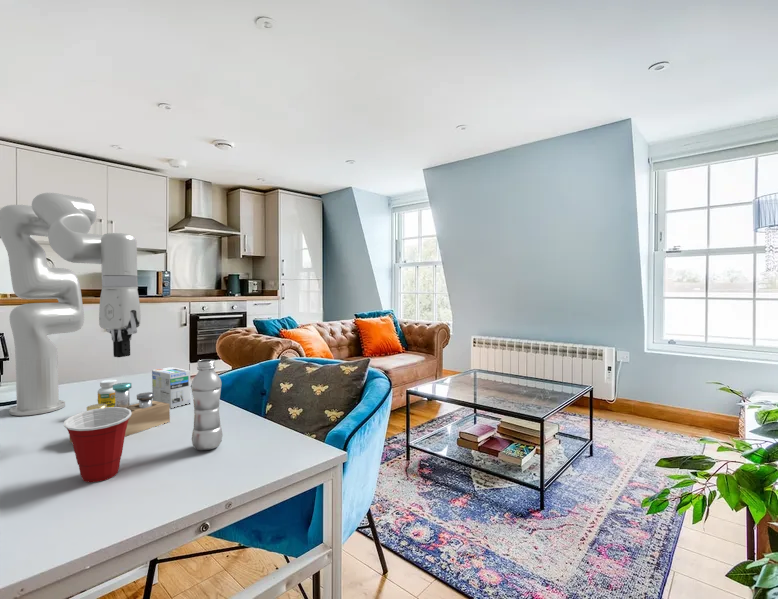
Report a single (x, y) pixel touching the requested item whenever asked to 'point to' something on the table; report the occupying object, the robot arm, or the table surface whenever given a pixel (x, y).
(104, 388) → the supplement bottle
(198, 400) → the plastic bottle
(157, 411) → the oak block
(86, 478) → the plastic cup
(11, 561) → the table surface
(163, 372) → the light bulb box
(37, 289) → the robot arm
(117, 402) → the plug teal
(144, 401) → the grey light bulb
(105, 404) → the plug brass
